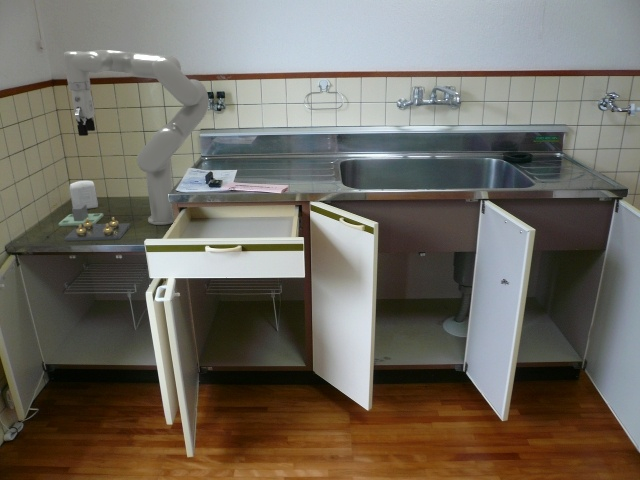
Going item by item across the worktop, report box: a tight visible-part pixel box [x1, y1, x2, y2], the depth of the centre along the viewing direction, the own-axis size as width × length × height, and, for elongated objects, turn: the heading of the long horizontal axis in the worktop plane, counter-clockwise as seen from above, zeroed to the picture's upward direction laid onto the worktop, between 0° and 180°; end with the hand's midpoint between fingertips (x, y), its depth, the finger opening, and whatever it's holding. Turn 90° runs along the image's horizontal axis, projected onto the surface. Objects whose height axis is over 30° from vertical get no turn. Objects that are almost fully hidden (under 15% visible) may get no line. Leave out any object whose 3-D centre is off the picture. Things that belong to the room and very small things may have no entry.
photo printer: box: [69, 180, 99, 210], centre depth 229 cm, size 10×4×12 cm, turn 123°
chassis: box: [64, 216, 131, 242], centre depth 203 cm, size 20×14×5 cm
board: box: [58, 204, 104, 227], centre depth 216 cm, size 14×11×6 cm
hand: (87, 133), depth 202 cm, fingers open, 9 cm apart
